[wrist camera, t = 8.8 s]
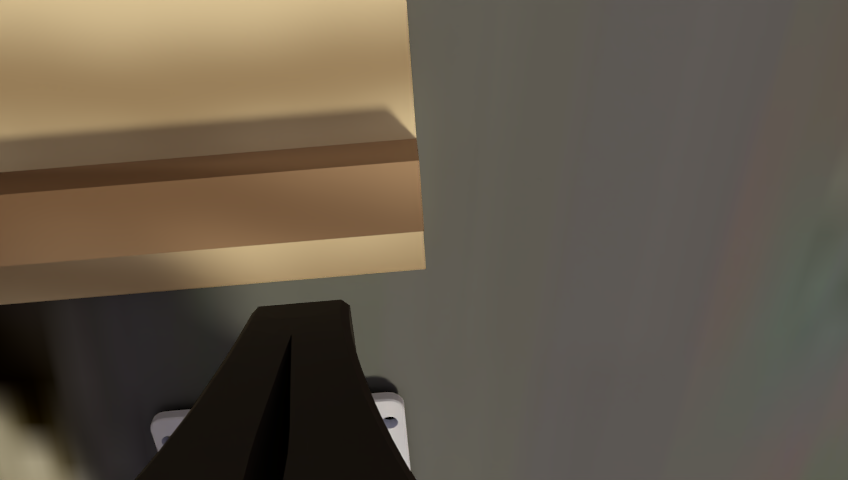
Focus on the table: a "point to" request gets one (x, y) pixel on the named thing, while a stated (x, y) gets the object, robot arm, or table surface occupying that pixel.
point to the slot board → (203, 144)
